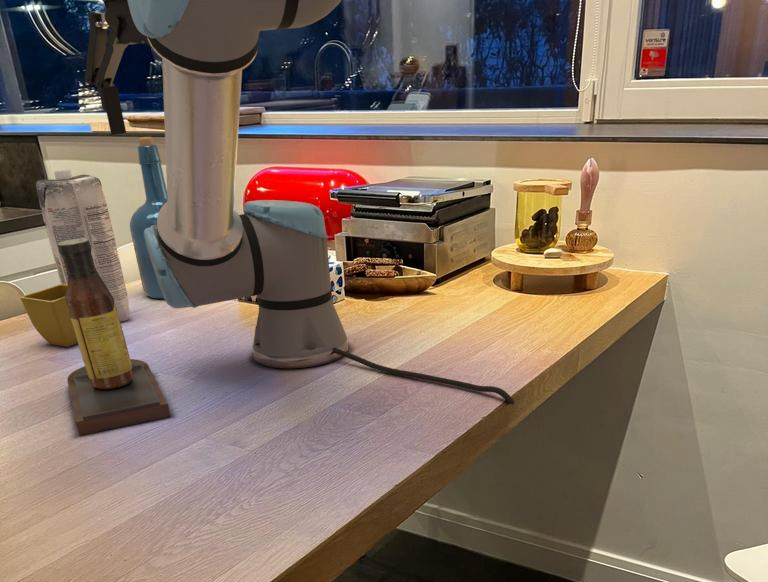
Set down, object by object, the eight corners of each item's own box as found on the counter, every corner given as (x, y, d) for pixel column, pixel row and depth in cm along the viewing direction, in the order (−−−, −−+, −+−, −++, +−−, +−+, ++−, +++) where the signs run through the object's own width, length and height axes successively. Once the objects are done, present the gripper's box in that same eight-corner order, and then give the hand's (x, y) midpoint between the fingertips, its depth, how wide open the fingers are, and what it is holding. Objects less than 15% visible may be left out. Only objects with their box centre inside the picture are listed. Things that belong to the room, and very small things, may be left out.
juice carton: (136, 320, 150) (102, 168, 136) (81, 332, 145) (40, 176, 131) (121, 311, 156) (87, 164, 142) (69, 322, 151) (28, 172, 138)
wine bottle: (174, 303, 159) (142, 141, 144) (131, 297, 166) (95, 141, 150) (221, 286, 169) (195, 133, 153) (178, 281, 175) (149, 134, 160)
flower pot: (65, 352, 135) (50, 301, 130) (33, 346, 139) (18, 296, 134) (105, 337, 141) (92, 287, 136) (73, 332, 145) (60, 283, 141)
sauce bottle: (144, 378, 114) (111, 236, 104) (114, 393, 109) (77, 246, 99) (109, 373, 116) (74, 235, 106) (79, 388, 111) (39, 245, 101)
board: (170, 416, 107) (166, 399, 106) (79, 435, 103) (74, 418, 102) (145, 365, 126) (142, 350, 125) (68, 380, 122) (64, 364, 121)
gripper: (209, -41, 109) (233, 127, 120) (73, -22, 119) (107, 132, 129) (176, -45, 103) (204, 132, 114) (36, -25, 113) (75, 137, 123)
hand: (152, 133), depth 122 cm, fingers open, 13 cm apart
